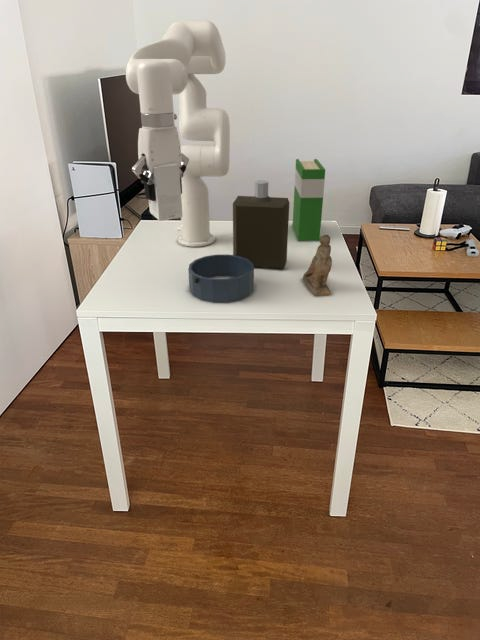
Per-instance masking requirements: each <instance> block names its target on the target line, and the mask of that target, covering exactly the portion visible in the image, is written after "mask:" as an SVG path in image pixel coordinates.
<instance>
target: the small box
mask: <svg viewBox="0 0 480 640" xmlns="http://www.w3.org/2000/svg"><path fill="white" fill-rule="evenodd" d="M148 177H149V176H148ZM153 177H154V179H153V182H152V184H154V186H155V197H156V200H155V201H151V200H148V206H149V213H150V214H151V215H152V216H153V217H154V218H156V219H157V220H158V221H159V222H163V221H169V220H176V219H181V217H183V215H182V201H181V186H180V172H179V165H178V164H176V163H172V164H166V165H161V166H156V167H154V173H153Z"/></svg>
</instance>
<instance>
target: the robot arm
mask: <svg viewBox="0 0 480 640" xmlns="http://www.w3.org/2000/svg"><path fill="white" fill-rule="evenodd" d="M221 36H222V35H221V34H220V31H219V29H218V27H217V26H216V25H215V23H214V22H212V21H210V20H177V21H174V22H173V23H172V24H170V25H169V27H168V28H167V30H166V31H165V33H164V35H163V37H162V38H161V39H159V40H156V41H154V42H151V43H149V44H147V45H144V46H142V47H139V48H138V49H136V50H135V51H134V52H133V53H132V54H131V56H130V58H129V60H128V62H127V65H126V68H125V69H126V70H125V80H126V84H127V86H128V88H129V90H130V91H131V92H132V93H134V94H136V95H138V98H139V108H140V119H141V127H140V128H139V129H138V137H137V155H138V160H137V161H136V163H135V164H134V165H133V166H132V167H131V172H133V173H134V175H135V176H136V178H137V179H138V180H140V181H141V183H142V184H143V188H144V189H143V190H144V196H145V199H146V200H148V201H149V200H151V201H155V200H156V197H155V186H154V184H152V182H153V179H154V177H153V173H154V167H156V166H161V165H166V164H172V163H176V164H178V165H179V172H180V186H181V201H182V215H183V217H181V218H180V220H181V223H180V225H179V226H177V227H176V230H177V231H178V232H180V235H179V236H178V238H177V242H178V243H179V244H180V245H181V246H185V247H192V248H194V247H195V248H198V247H205V246H208V245H209V246H210V245H211V244H213V243H214V242H215V240H216V239H215V235H214V234H213V233H211V228H210V227H211V226H210V225H211V224H210V201H209V200H210V199H209V196H210V195H209V189H208V186H207V184H206V183H205V181H204V180H203V177H214V178H215V177H219V178H220V177H221V178H222V177H224V176H226V175H227V174H228V173H229V170H230V159H231V157H230V156H231V155H230V154H231V153H230V152H231V151H230V150H231V149H230V147H231V146H230V145H231V144H230V143H231V123H230V116H229V114H228V112H227V111H226V110H225V109H223V108H219V107H218V108H217V107H216V108H215V107H214V108H212V107H210V108H209V107H207V91H206V88H205V86H203V84H202V82H201V81H200V80H199V79H198V77H197V76H195V75H218V74H221V73H222V72H223V71H224V70H225V66H226V59H227V58H226V50H225V47H224V43H223V40H222V37H221ZM173 95H178V116H177V114H176V113H175V112H174V96H173ZM177 119H178V127H179V132H178V127H177V125H175V121H176V120H177ZM179 134H180V135H179ZM180 136H181V138H182V139H184V140H185V141H192V142H193V141H195V142H203V141H204V142H214V143H215V144H184V145H181V140H180ZM148 176H149V177H148Z"/></svg>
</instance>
